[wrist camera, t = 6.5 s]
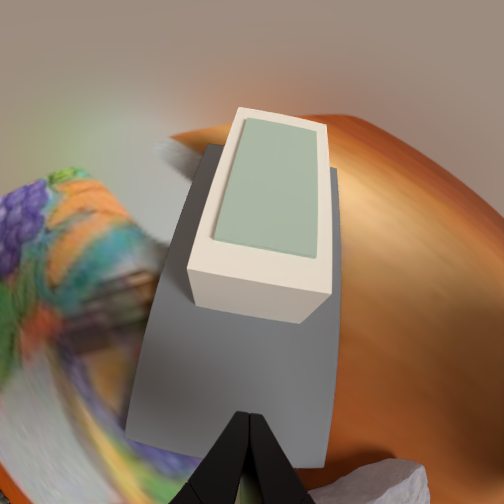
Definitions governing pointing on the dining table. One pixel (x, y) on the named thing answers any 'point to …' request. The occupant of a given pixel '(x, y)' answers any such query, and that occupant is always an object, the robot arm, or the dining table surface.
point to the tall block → (267, 221)
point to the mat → (233, 356)
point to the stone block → (378, 485)
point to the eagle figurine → (3, 499)
